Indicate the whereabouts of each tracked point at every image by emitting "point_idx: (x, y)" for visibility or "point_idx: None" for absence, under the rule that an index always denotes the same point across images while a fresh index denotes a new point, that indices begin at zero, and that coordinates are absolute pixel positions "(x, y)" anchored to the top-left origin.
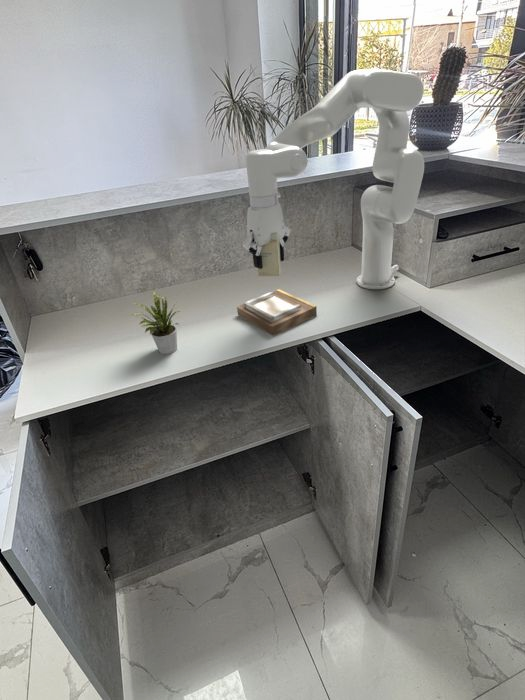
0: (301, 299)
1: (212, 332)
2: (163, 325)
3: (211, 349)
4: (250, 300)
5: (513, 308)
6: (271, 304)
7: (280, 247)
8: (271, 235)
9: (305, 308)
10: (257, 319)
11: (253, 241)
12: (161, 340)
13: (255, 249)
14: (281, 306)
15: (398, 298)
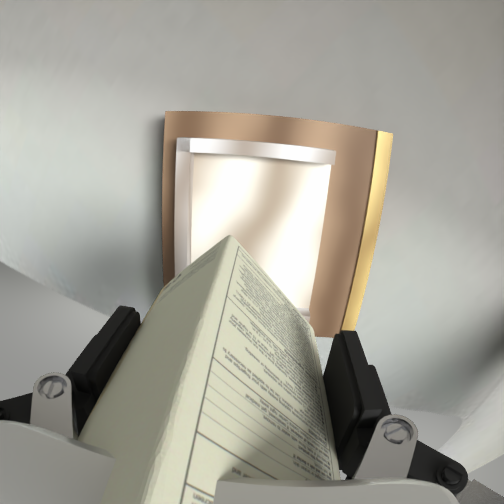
0: (367, 273)
1: (66, 153)
2: None
3: (35, 228)
4: (210, 141)
5: (475, 467)
6: (268, 211)
7: (342, 458)
8: None
9: (321, 323)
10: (163, 246)
11: (44, 440)
12: None
13: (73, 419)
14: (280, 255)
15: (487, 383)
